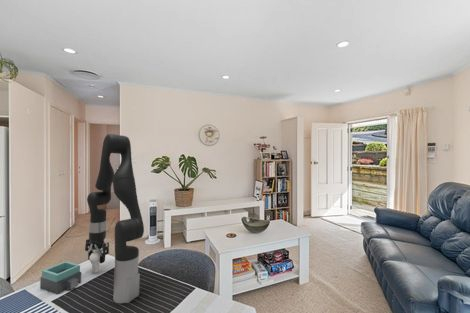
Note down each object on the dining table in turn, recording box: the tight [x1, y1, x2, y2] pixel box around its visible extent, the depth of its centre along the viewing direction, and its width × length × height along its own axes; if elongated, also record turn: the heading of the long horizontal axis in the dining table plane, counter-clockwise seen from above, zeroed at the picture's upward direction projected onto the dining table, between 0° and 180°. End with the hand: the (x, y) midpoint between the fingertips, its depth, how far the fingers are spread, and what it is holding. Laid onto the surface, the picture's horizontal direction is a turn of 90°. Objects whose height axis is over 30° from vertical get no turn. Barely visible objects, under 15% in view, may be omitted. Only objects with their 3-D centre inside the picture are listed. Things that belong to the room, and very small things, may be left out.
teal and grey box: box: [39, 261, 82, 295], centre depth 99 cm, size 15×10×8 cm, turn 70°
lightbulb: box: [88, 250, 101, 274], centre depth 111 cm, size 6×6×11 cm
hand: (96, 261), depth 112 cm, fingers open, 8 cm apart
